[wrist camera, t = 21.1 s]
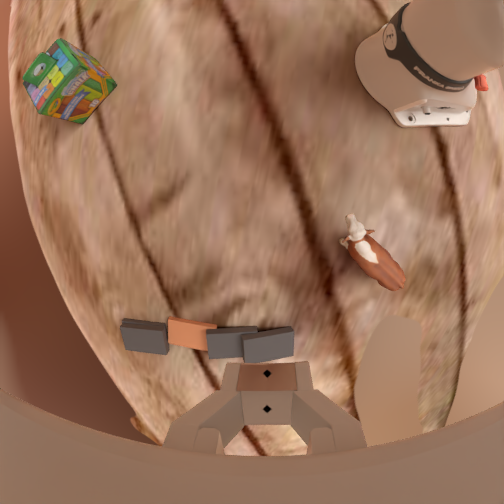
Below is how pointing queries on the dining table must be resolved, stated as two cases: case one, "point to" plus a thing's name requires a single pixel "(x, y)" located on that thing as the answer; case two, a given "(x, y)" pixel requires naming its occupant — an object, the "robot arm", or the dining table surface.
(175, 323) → the domino
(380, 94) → the robot arm
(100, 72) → the chalk box
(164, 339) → the domino
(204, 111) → the dining table surface
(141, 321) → the domino
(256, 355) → the domino
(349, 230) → the bull figurine
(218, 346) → the domino
